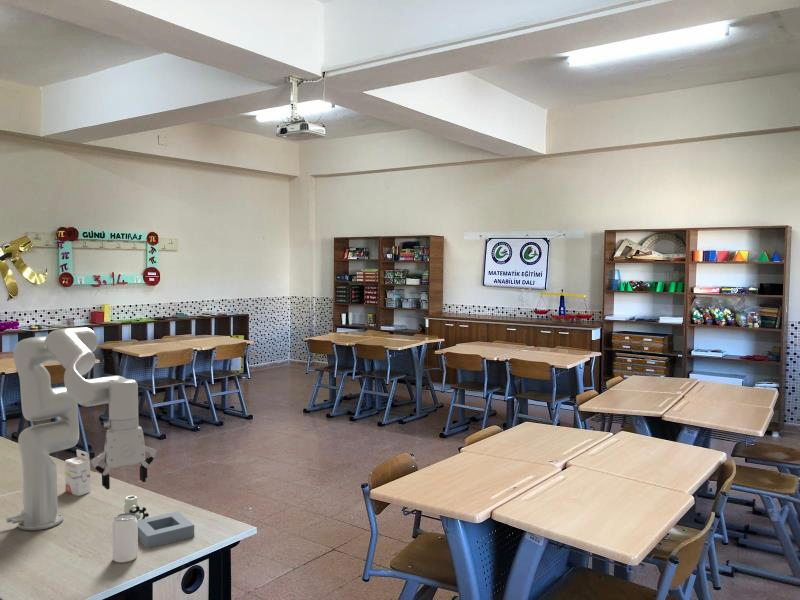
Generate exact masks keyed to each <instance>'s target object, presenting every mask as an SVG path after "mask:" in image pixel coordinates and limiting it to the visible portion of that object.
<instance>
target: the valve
mask: <svg viewBox="0 0 800 600" xmlns="http://www.w3.org/2000/svg"><path fill="white" fill-rule="evenodd" d="M123 508H124V509H123V510H124V513H134V514H135V515H136V516H135V517H136V519H137V520H140V519H146V518H149V516H150V514H149V513H148V512H146V511H147V507H144V506H143V507H142V509H140V506H139V505H138V497H137V496H136V495H128V496H126V497H124V507H123ZM145 512H146V513H145ZM141 514H142V518H141Z"/></svg>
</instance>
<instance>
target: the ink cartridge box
mask: <svg viewBox="0 0 800 600" xmlns="http://www.w3.org/2000/svg"><path fill="white" fill-rule="evenodd" d="M75 451H76V457H72V458H70V459H69V458H68V459H65V460H64V465H65V466H64V468H65V469H64V470H65V471H64V472H65V473H64V474H65V478H64V480H65V484H64V485H65V488H64V489H65V492H66V493H69V494H71V495H74V496H77V497H79V496H82V495H86V494H89V493H91V460H90V453H89V452H87V451H84V450H80V449H76V450H75ZM82 454H83V455H82Z"/></svg>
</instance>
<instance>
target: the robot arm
mask: <svg viewBox="0 0 800 600" xmlns="http://www.w3.org/2000/svg"><path fill="white" fill-rule="evenodd" d="M98 344H99V339H98V336H97V334H96V332H95V331H94V330H92V328H89V327H85V326H79V327H78V326H77V327H66V328H57V329H53V330H51V331H50V332H49V333H48V334H47V335H43V336H33V337H32V336H31V337H28V338H23V339H21V340H19V341H18V342H17V343H16V344H15V346H14V348H13V362H14V365H15V368H16V371H17V373H18V374H17V375H18V377H19V387H20V388H19V389H20V402H21V412H22V415H23V418H24V419H25V420H26V421H29V422H38V421H45V420H48V419H54V418H56V419H57V420H56V421H51V422H47V423H40V424H35V425H32V426H29V427H27V428H24V429H23V430H22V431H21V432H20V433H19V435H18V437H17V439H18V440H17V441H18V442H17V443H18V448H19V452H20V456H21V463H22V465H21V466H22V495H23V496H22V500H23V502H22V503H23V507H22V508H23V509H21V510H20V512H19V513H17V514H15V515H13V514H12V515H8V516H6V517H5V520H6V524H9V523H12V524H17V528H19V529H20V530H21V531H22V530H23V531H40V530H45V529H49V528H53V527H55V526H58V525H59V524H61V523H62V522H63V521H64V515H63V514H62V513H59V511H58V469H57V464H56V462H55V461H54V459H52V458H51V457H50V454H53V453H56V452H60V451H65V450H68V449H71V448H73V447H75V446H76V445H77V444H78V442H79V439H80V422H79V410H78V409H79V408H78V405H80V406H82V407H93V406H94V407H95V406H99V405H105V404H108V416H109V417H108V420H107V421H105V422H103V428H108V429H107V430H106V432H105V439H104V450H103V452H101V453H100V454H98V455H97V456H95V457H94V458H92V459H91V460H90V464H91V465H92V466H93V468H94V469H95V470H96V471H97V472H99V474H101V485H102V487H104V489H106V490H110V488H111V486H110V484H111V483H110V477H111V476H110V474H109V472H110V471H112V469H116V468H117V469H118V468H123V467H128V466H133V465H139V464H140V466H139V480H140V481H141V482H142V483H146V482H147V478H148V468H149V466H150V465H151V464H152V462H153V461H154V458H155V456H156V454H157V450H156V449H155V448H152V447H149V446H147V445H146V444H145V437H144V431H143V428H142V426H140V425H139V385H138V382H137V381H136V380H135V379H132V378H126V377H124V376H121V375H109V376H108V375H107V376H101V377H96V378H95V377H94V378H89V379H87V378H86V379H85V378H84V377H83V376H84V375H86V374H87V373H89V371H91V370H92V369H93V368H94V365H95V364H96V356H95V354H94V352H95V351H96V350H97V348H98ZM50 363H51V364H52V363H59V364H60V365H61V366H62V367H63V368H64V369H65V371H64V373H63V382H64V384H63V385H64V386H58V387H52V381H51V374H50V372H49V371H48V369H47V368H46V366H44V365H43V364H50ZM146 453H148V456H147V457H146ZM102 460H103V461H104V465H103V466H101V465H100V464H99V462H101V461H102Z"/></svg>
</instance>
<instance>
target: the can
mask: <svg viewBox="0 0 800 600" xmlns="http://www.w3.org/2000/svg"><path fill="white" fill-rule="evenodd" d="M135 516H136V515H135V514H134V513H125V512H123V513H120V514H117V515H115V516H114V518H113V522H112V560H113V561H114V563H118V564H124V563H125V564H126V563H129V562H133V561H135V560H136V559H137V557H138V555H139V553H138V552H139V549H138V547H139V543H138V542H139V541H138V540H139V538H138V529H137V519H136V517H135Z"/></svg>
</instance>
